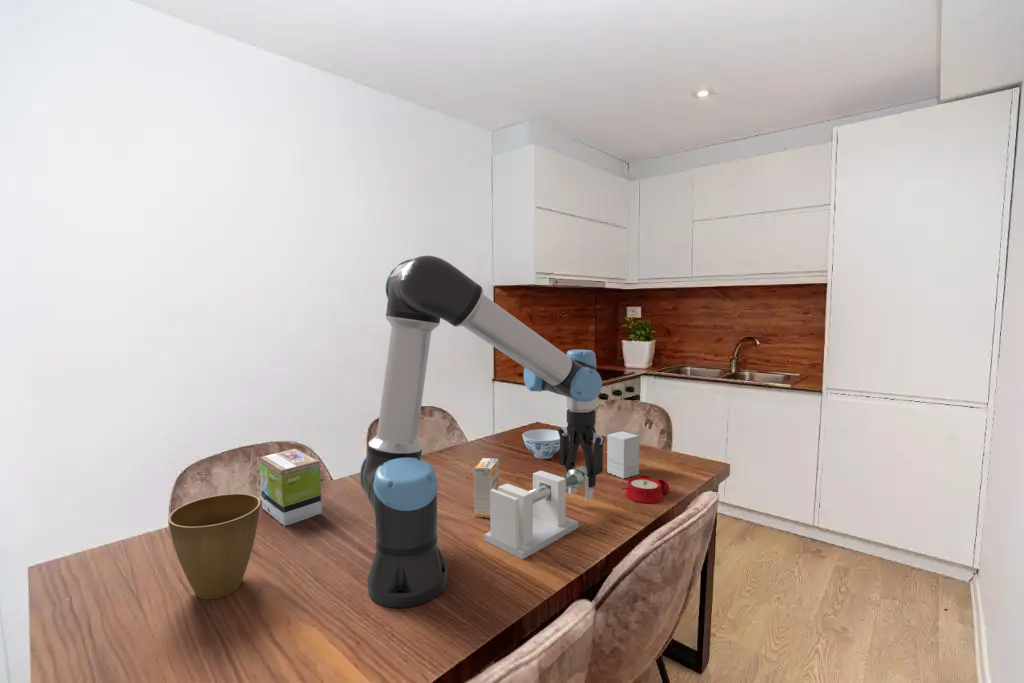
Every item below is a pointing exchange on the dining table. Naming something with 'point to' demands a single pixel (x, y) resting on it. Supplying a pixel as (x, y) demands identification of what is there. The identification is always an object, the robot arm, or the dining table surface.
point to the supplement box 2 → (623, 454)
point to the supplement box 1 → (485, 485)
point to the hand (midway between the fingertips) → (580, 495)
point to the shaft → (573, 480)
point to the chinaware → (542, 442)
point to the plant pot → (215, 541)
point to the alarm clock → (646, 489)
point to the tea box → (290, 486)
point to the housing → (528, 516)
